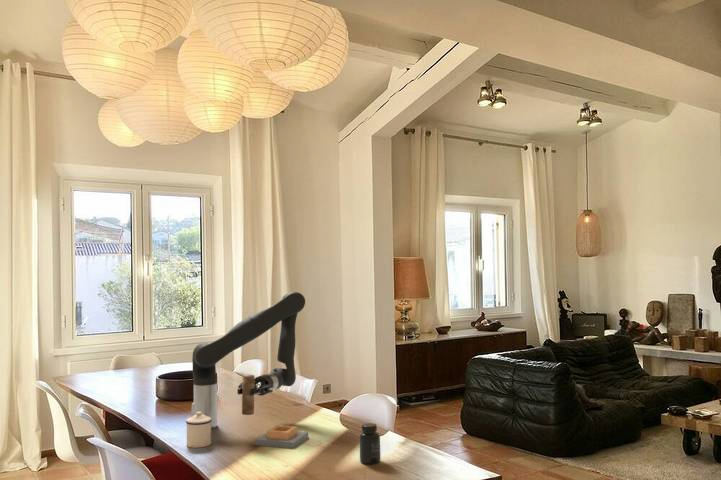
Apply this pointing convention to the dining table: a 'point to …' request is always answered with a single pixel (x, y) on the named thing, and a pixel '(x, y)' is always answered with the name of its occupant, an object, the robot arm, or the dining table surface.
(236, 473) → the dining table surface
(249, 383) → the walnut peg
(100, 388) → the dining table surface
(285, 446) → the collar base
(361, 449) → the supplement bottle
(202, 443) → the teacup with lid
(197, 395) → the robot arm
